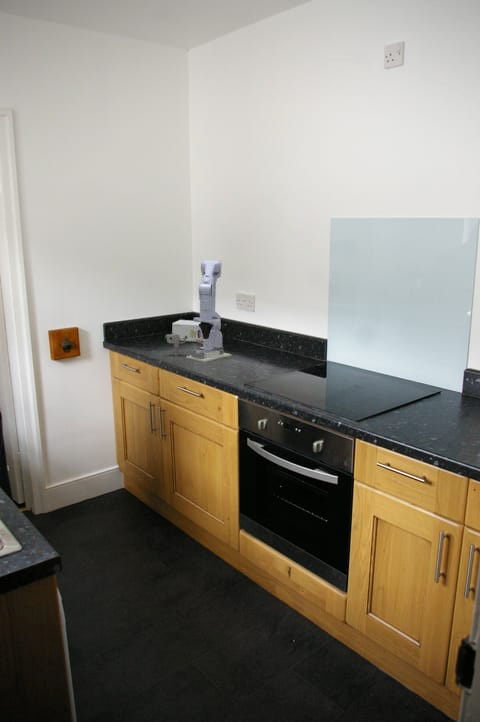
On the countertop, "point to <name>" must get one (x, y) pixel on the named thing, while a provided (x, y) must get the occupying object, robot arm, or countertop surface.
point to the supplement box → (187, 330)
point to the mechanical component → (175, 341)
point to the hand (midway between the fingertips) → (206, 338)
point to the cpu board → (208, 354)
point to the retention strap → (208, 344)
